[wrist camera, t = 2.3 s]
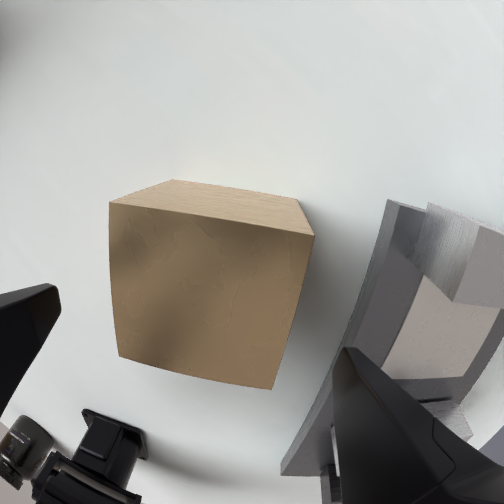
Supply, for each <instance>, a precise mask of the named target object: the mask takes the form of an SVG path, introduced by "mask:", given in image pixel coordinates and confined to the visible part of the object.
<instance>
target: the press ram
mask: <svg viewBox="0 0 504 504" xmlns="http://www.w3.org/2000/svg"><path fill="white" fill-rule="evenodd" d="M420 404H421V405H422V406H424V407H425V408H426V409H427V410H428V411H429V412H430V413H431V414H433V417H436V418H437V419H438V420H440V421H441V422H442V423H443V424H444V425H445V426H446V427H448V428H449V429H450V430H451V431H452V432H454V433H455V434H456V435H457V436H459V437H460V438H461V439H463V440H464V441H465V442H467V441H468V440H469V439H470V438H471V437H472V436H473V433H472V431H471V429H470V427H469V425H468V423H467V421H466V419H465V417H464V415H463V413H462V411H461V410H460V408H459V406H458V404H457V402H456V400H455V399H454V400H447V401H439V402H429V403H420ZM331 436H332V443H333V450H334V457H335V465H328V466H327V467H326V468H325V469H324V470H323V471H322V472H321V474H320V479H321V492H322V504H342V494H341V483H340V473H339V463H338V454H337V446H336V438H335V430H334V426H333V428H332V429H331Z"/></svg>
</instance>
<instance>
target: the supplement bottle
mask: <svg viewBox="0 0 504 504" xmlns="http://www.w3.org/2000/svg"><path fill="white" fill-rule="evenodd" d="M52 447H53V440H52V438H51V437H50V436H49V435H48V433H47V432H46V431H45V430H44V429H42V428H41V427H40V426H39V425H38V424H37V423H35V422H34V421H33V420H31V419H30V418H28V417H27V416H24V415H21V416H19V417H18V419H17V420H16V421H15V423H14V424H13V425H12V427H11V428H10V430H9V431H8V432H7V434H6V435H5V437H4V438H3V439H2V441H1V442H0V476H1V477H2V478H3V479H4V480H5V481H6V482H8V483H9V484H10V485H11V486H13V487H14V488H15V489H17V490H19V489H20V487H21V486H22V485H23V483H22V481H23V480H28V481H29V480H31V479H32V478H33V476H34V475H35V474H36V473H37V472H38V470H39V469H40V467H41V465H42V463H43V462H44V460H45V458H46V457H47V455H48V453H49V452H50V450H51V448H52Z"/></svg>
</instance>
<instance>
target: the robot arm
mask: <svg viewBox="0 0 504 504" xmlns="http://www.w3.org/2000/svg"><path fill="white" fill-rule="evenodd" d="M60 313H61V303H60V298H59V292H58V289H57V287H56V286H54V285H52V284H49V283H45V284H41V285H37V286H32V287H28V288H24V289H20V290H16V291H12V292H8V293H4V294H0V417H1V415H2V414H3V412H4V410H5V408H6V406H7V404H8V402H9V400H10V399H11V397H12V395H13V393H14V392H15V390H16V388H17V386H18V385H19V383H20V381H21V380H22V378H23V376H24V375H25V373H26V371H27V370H28V368H29V367H30V365H31V363H32V362H33V360H34V359H35V357H36V356H37V354H38V353H39V351H40V349H41V348H42V346H43V344H44V342H45V341H46V339H47V337H48V335H49V333H50V331H51V330H52V328H53V326H54V324H55V323H56V321H57V319H58V317H59V316H60ZM332 391H333V421H334V430H335V438H336V446H337V454H338V463H339V473H340V483H341V494H342V504H504V467H503V466H501V465H498V464H497V463H495V462H493V461H492V460H491V459H489V458H488V457H486V456H485V455H484V454H482V453H481V452H479V451H478V450H476V449H475V448H474V447H472V446H471V445H469V444H468V443H467V442H465V441H464V440H463V439H461V438H460V437H459V436H457V435H456V434H455V433H454V432H452V431H451V430H450V429H449V428H448V427H446V426H445V425H444V424H443V423H442V422H441V421H440V420H438V419H437V418H436V417H433V414H431V413H430V412H429V411H428V410H427V409H426V408H425V407H424V406H422V405H421V404H420V403H419V402H418V401H417V400H416V399H414V398H413V397H412V396H411V395H410V394H409V393H408V392H406V391H405V390H404V389H403V388H402V387H401V386H400V385H398V384H397V383H396V382H395V381H394V380H393V379H392V378H391V377H389V376H388V375H387V374H386V373H385V372H384V371H383V370H381V369H380V368H379V367H378V366H377V365H376V364H375V363H374V362H372V361H371V360H370V359H369V358H368V357H367V356H366V355H364V354H363V353H362V352H361V351H360V350H359V349H358V348H356V347H347V346H345V347H343V348H342V349H341V351H340V353H339V355H338V358H337V360H336V362H335V364H334V367H333V370H332ZM81 413H82V415H83V417H84V420H85V422H86V424H87V426H88V430H87V431H86V433H85V435H84V437H83V439H82V441H81V442H80V444H79V446H78V448H77V450H76V452H75V454H74V456H73V458H72V459H71V460H69V459H68V458H66V457H65V456H63V455H62V454H61V453H60V452H58V451H56V453H54V452H52V451H51V453H50V454H49V456H48V458H47V460H46V461H45V463H44V464H43V466H42V467H41V468H40V469H39V470H38V472H37V473H36V474H35V475H34V476H33V478H32V479H31V484H32V487H33V489H32V492H33V493H32V499H33V500H35V501H36V504H140V503H141V498H142V496H140V495H138V494H134V493H131V492H129V491H127V490H126V487H127V484H128V481H129V479H130V476H131V473H132V471H133V468H134V465H135V463H136V460H137V458H139V459H142V460H147V459H148V454H147V451H146V447H145V443H144V439H143V435H142V432H141V431H140V430H138V429H136V428H133V427H130V426H127V425H124V424H121V423H119V422H116V421H113V420H111V419H108V418H105V417H103V416H100V415H98V414H96V413H93V412H91V411H88V410H86V409H83V410H82V412H81ZM60 469H61V471H60V472H59V470H60Z"/></svg>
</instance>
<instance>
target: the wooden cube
mask: <svg viewBox="0 0 504 504" xmlns="http://www.w3.org/2000/svg"><path fill="white" fill-rule="evenodd" d="M314 237H315V235H314V233H313V231H312V229H311V227H310V225H309V223H308V221H307V219H306V217H305V215H304V213H303V211H302V209H301V207H300V205H299V203H298V201H297V200H296V199H293V198H288V197H282V196H277V195H271V194H266V193H260V192H254V191H248V190H242V189H236V188H230V187H223V186H217V185H210V184H203V183H196V182H188V181H180V180H170V181H166V182H163V183H160V184H157V185H155V186H152V187H149V188H146V189H143V190H140V191H137V192H135V193H132V194H129V195H126V196H124V197H121V198H118V199H116V200H113V201H111V202H109V262H110V281H111V295H112V306H113V316H114V325H115V333H116V340H117V347H118V353H119V356H120V357H123V358H126V359H129V360H133V361H136V362H139V363H143V364H146V365H150V366H153V367H157V368H161V369H165V370H169V371H173V372H177V373H181V374H185V375H189V376H194V377H198V378H203V379H208V380H213V381H218V382H223V383H229V384H235V385H241V386H247V387H254V388H261V389H268V390H272V387H273V384H274V381H275V378H276V375H277V372H278V369H279V365H280V362H281V359H282V356H283V352H284V349H285V346H286V342H287V339H288V336H289V332H290V329H291V325H292V322H293V318H294V315H295V311H296V308H297V304H298V300H299V297H300V293H301V289H302V285H303V282H304V278H305V274H306V270H307V266H308V262H309V258H310V254H311V250H312V246H313V242H314Z"/></svg>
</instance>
